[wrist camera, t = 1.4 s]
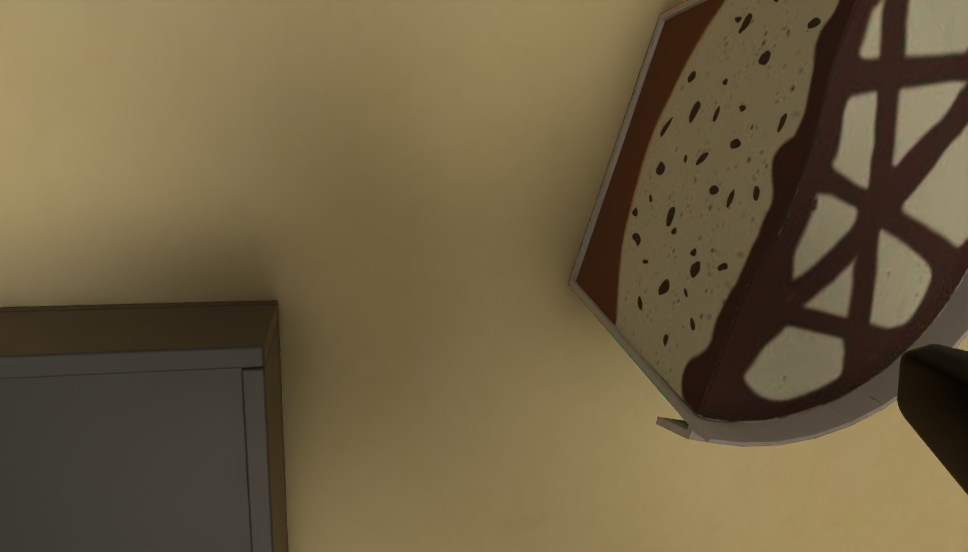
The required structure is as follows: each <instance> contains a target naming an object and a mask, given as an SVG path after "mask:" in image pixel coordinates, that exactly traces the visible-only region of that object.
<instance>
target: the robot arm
mask: <svg viewBox="0 0 968 552" xmlns="http://www.w3.org/2000/svg"><path fill="white" fill-rule="evenodd" d="M897 402H898V406H899V409H900V411H901V413H902V415H903V416H904V418H905V419H906V420H907V421H908V423H909V424H910V425H911V426H912V428H913V429H914V430H915V431H916V432H917V434H918V435H919V436H920V437H921V438H922V440H923V441H924V442H925V443H926V445H927V446H928V447H929V448H930V449H931V451H932V452H933V453H934V454H935V456H936V457H937V458H938V459H939V460H940V462H941V463H942V464H943V465H944V467H945V468H946V469H947V470H948V471H949V473H950V474H951V475H952V476H953V478H954V479H955V480H956V481H957V482H958V484H959V485H960V486H961V487H962V489H963V490H964V491H965V492H966V493H967V495H968V351H964V350H960V349H956V348H952V347H948V346H944V345H940V344H927V345H924V346H921V347H918V348H915V349H912V350H909V351H907V352H905V353H904V354H903V355H902V357H901V359H900V367H899V380H898V392H897Z"/></svg>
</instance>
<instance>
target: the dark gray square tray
mask: <svg viewBox="0 0 968 552" xmlns="http://www.w3.org/2000/svg"><path fill="white" fill-rule="evenodd" d="M0 552H288V533H287V509H286V485H285V461H284V437H283V413H282V389H281V365H280V341H279V317H278V302H277V301H276V300H275V301H237V302H200V303H162V304H124V305H87V306H49V307H12V308H0Z"/></svg>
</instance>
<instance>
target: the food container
mask: <svg viewBox="0 0 968 552" xmlns="http://www.w3.org/2000/svg"><path fill="white" fill-rule="evenodd" d="M568 285H569V286H570V287H571V288H572V290H573V291H574V292H575V293H576V294H577V295H578V297H579V298H580V299H581V300H582V301H583V302H584V304H585V305H586V306H587V307H588V308H589V309H590V311H591V312H592V313H593V314H594V315H595V316H596V318H597V319H598V320H599V321H600V322H601V323H602V325H603V326H604V327H605V328H606V329H607V330H608V332H609V333H610V334H611V335H612V336H613V337H614V339H615V340H616V341H617V342H618V343H619V344H620V346H621V347H622V348H623V349H624V350H625V351H626V352H627V354H628V355H629V356H630V357H631V358H632V359H633V361H634V362H635V363H636V364H637V365H638V366H639V368H640V369H641V370H642V371H643V372H644V373H645V375H646V376H647V377H648V378H649V379H650V380H651V382H652V383H653V384H654V385H655V386H656V387H657V389H658V390H659V391H660V392H661V393H662V394H663V396H664V397H665V398H666V399H667V400H668V401H669V403H670V404H671V405H672V406H673V407H674V408H675V410H676V411H677V412H678V413H679V414H680V415H681V417H682V418H683V419H684V420H685V421H684V420H676V419H669V418H662V417H657V422H656V424H658V425H660V426H662V427H664V428H666V429H668V430H670V431H672V432H674V433H676V434H678V435H680V436H683V437H685V438H687V439H689V440H697V441H704V442H709V443H717V444H725V445H734V446H742V447H745V446H775V445H784V444H789V443H794V442H799V441H804V440H810V439H815V438H818V437H821V436H824V435H826V434H829V433H832V432H835V431H838V430H841V429H844V428H846V427H849V426H852V425H854V424H856V423H858V422H859V421H861V420H863V419H865V418H867V417H869V416H871V415H873V414H875V413H877V412H879V411H881V410H883V409H885V408H886V407H888V406H889V405H890V404H892V403H893V402H895V401H896V400H897V392H898V380H899V367H900V359H901V357H902V355H903V354H904V353H905V352H907V351H909V350H912V349H915V348H918V347H921V346H924V345H927V344H940V345H944V346H948V347H952V348H957V347H958V346H959V345H960V343H961V342H962V341H963V340H964V339H965V338H966V336H967V335H968V0H687V1H685V2H683V3H681V4H679V5H677V6H675V7H673V8H671V9H669V10H667V11H665V12H663V13H661V14H660V16H659V19H658V22H657V25H656V28H655V31H654V34H653V37H652V40H651V43H650V46H649V49H648V52H647V55H646V57H645V60H644V63H643V66H642V69H641V72H640V75H639V78H638V81H637V84H636V87H635V90H634V93H633V96H632V99H631V101H630V104H629V107H628V110H627V113H626V116H625V119H624V122H623V125H622V128H621V131H620V134H619V137H618V140H617V143H616V145H615V148H614V151H613V154H612V157H611V160H610V163H609V166H608V169H607V172H606V175H605V178H604V181H603V184H602V187H601V189H600V192H599V195H598V198H597V201H596V204H595V207H594V210H593V213H592V216H591V219H590V222H589V225H588V228H587V230H586V233H585V236H584V239H583V242H582V245H581V248H580V251H579V254H578V257H577V260H576V263H575V266H574V269H573V272H572V274H571V277H570V280H569V283H568Z"/></svg>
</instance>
